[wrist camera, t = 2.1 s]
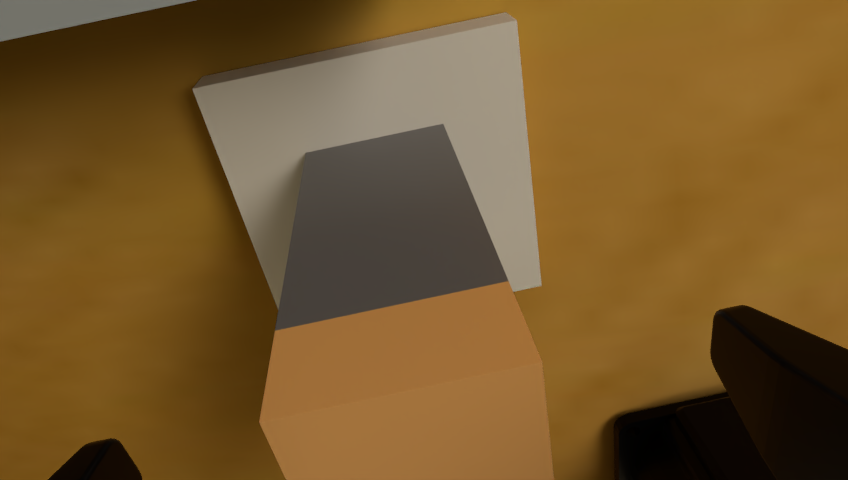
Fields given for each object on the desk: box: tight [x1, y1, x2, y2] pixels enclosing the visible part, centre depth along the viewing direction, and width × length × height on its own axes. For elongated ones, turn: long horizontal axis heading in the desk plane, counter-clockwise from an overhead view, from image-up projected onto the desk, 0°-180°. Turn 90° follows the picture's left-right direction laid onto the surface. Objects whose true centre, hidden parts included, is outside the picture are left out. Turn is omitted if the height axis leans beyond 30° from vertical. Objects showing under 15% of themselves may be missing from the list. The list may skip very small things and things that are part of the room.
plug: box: [259, 124, 554, 480], centre depth 11 cm, size 3×3×8 cm
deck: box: [192, 12, 541, 310], centre depth 15 cm, size 7×7×1 cm
